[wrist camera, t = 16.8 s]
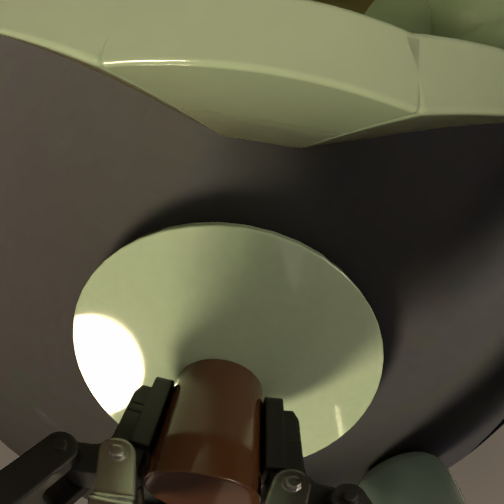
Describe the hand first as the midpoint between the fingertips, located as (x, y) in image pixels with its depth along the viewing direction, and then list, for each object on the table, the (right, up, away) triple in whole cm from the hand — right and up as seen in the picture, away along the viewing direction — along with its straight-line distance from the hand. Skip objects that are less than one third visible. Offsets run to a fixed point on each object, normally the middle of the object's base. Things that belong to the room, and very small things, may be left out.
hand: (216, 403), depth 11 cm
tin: (+3, +17, -3) cm, 17 cm away
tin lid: (0, 0, +1) cm, 1 cm away
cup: (+12, -10, +5) cm, 17 cm away
